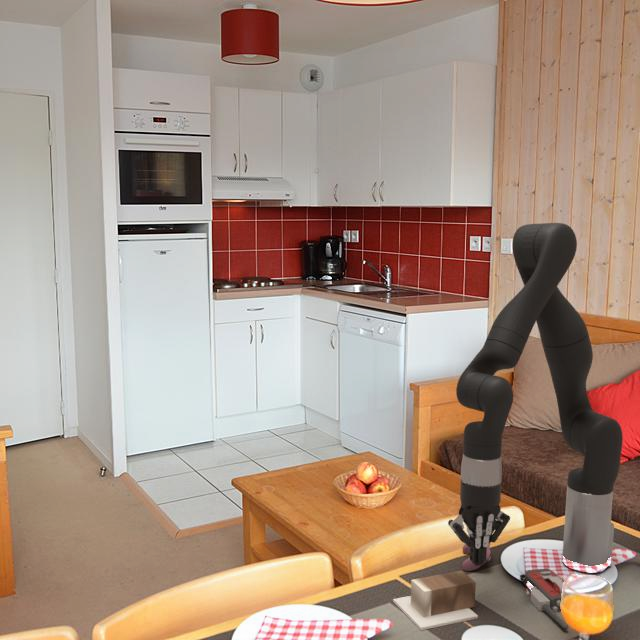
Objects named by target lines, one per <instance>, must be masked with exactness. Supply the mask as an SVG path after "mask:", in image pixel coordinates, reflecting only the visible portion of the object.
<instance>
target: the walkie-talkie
mask: <svg viewBox="0 0 640 640" xmlns="http://www.w3.org/2000/svg"><path fill="white" fill-rule="evenodd" d="M519 580H520V581H521V582H522V583H523V585H524V586H525V587H526V583H527V581H529V582H530V583H531V584H532V585H533V586H534V587H533V588H531V590H532V591H531V594H530V600H529V601H530V603H531V604H533V605H534V606H535V608H537V611H539V612H545V613H547V614H548V615H549V616H550V617H551V618H552V619H553V620H554V621H555V622H556V623H558V625H560V626H561V627H562V628H563V629H564V630H568V629H569V625H568V623H566V622H565V621H564V620H563V619H562V617H560V616H559V615H558V614H557V612H558V611H561V610H560V602H561V593H562V585H563V582H564V581H565V580H564V579H562V578H561V577H560V576H559V575H558V574H557V573H556V572H555V571H554V570H551V569H549V568H539V569H531V570H530V569H528V570H526V571H525V573H524V574H520V576H519Z"/></svg>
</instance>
